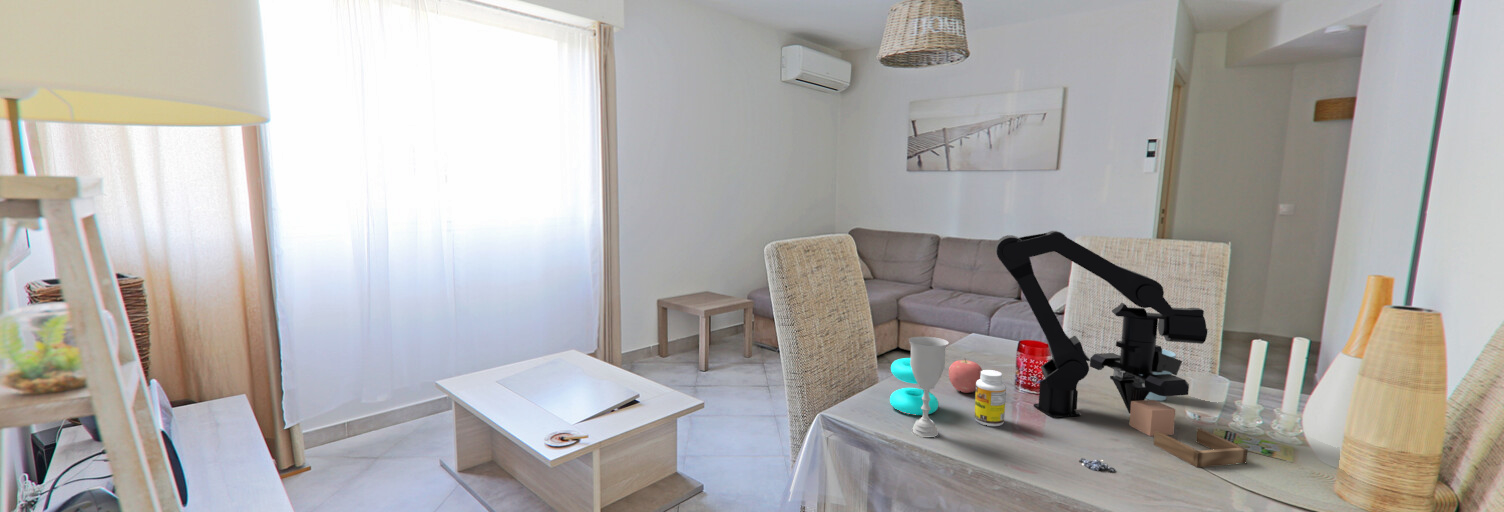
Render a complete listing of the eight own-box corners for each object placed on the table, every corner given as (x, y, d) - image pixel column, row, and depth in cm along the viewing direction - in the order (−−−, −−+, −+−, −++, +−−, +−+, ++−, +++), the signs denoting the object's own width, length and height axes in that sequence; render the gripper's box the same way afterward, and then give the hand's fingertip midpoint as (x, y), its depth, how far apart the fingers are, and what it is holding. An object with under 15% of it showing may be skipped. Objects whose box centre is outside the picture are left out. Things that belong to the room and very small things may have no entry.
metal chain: (1076, 457, 103) (1075, 447, 103) (1129, 467, 98) (1129, 456, 98) (1067, 472, 98) (1067, 461, 98) (1123, 483, 93) (1123, 471, 92)
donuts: (881, 361, 123) (910, 353, 129) (879, 406, 124) (909, 396, 130) (920, 373, 115) (949, 364, 121) (918, 421, 116) (947, 410, 122)
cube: (1149, 436, 110) (1152, 410, 109) (1129, 425, 114) (1131, 401, 114) (1173, 434, 110) (1175, 409, 110) (1151, 423, 115) (1153, 399, 115)
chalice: (945, 428, 113) (948, 338, 111) (944, 442, 107) (948, 347, 105) (906, 423, 115) (909, 335, 113) (903, 437, 109) (906, 344, 107)
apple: (948, 395, 131) (949, 361, 130) (947, 384, 138) (948, 352, 137) (983, 398, 129) (985, 364, 128) (980, 388, 136) (982, 354, 135)
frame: (1196, 467, 97) (1198, 453, 97) (1153, 444, 106) (1154, 431, 106) (1246, 463, 99) (1247, 449, 98) (1199, 441, 107) (1200, 428, 107)
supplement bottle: (969, 416, 119) (971, 368, 118) (996, 416, 119) (998, 368, 118) (981, 427, 113) (983, 377, 112) (1009, 427, 114) (1011, 376, 112)
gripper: (1218, 350, 107) (1210, 430, 109) (1136, 326, 125) (1131, 395, 127) (1165, 352, 105) (1158, 434, 107) (1090, 328, 124) (1085, 398, 125)
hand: (1132, 414), depth 117 cm, fingers closed
